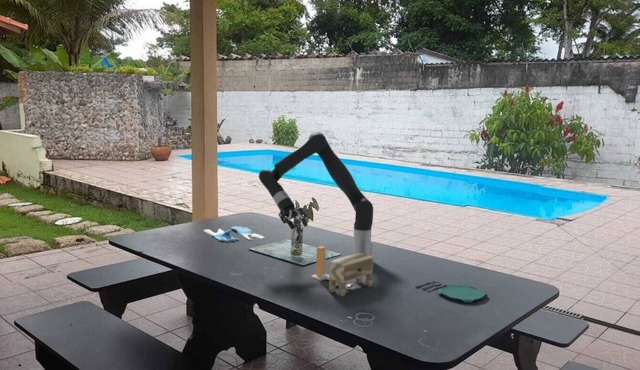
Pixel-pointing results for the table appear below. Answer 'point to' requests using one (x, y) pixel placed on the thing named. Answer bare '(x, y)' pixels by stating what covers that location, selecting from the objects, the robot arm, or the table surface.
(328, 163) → the robot arm
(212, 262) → the table surface
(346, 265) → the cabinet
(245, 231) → the rubber gloves
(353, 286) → the steel disc
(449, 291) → the cutlery set
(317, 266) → the orange post on base
